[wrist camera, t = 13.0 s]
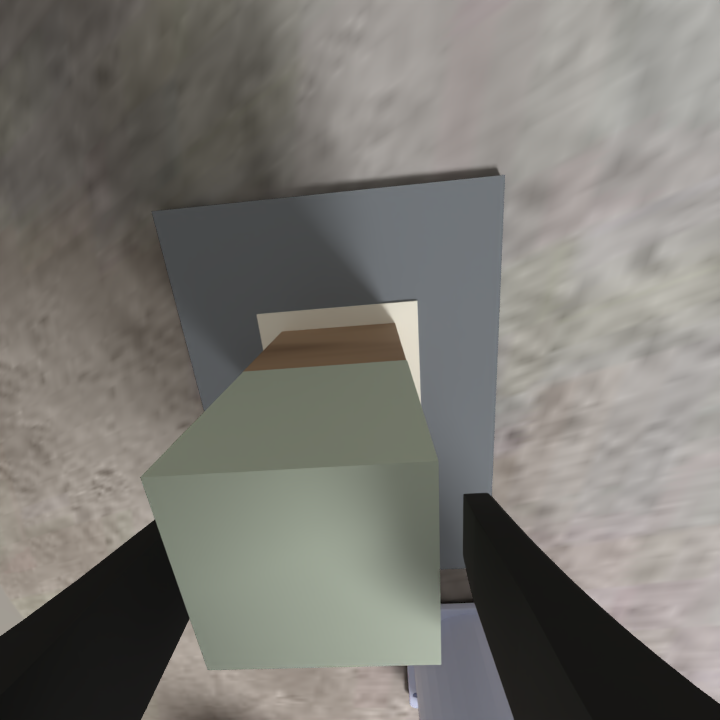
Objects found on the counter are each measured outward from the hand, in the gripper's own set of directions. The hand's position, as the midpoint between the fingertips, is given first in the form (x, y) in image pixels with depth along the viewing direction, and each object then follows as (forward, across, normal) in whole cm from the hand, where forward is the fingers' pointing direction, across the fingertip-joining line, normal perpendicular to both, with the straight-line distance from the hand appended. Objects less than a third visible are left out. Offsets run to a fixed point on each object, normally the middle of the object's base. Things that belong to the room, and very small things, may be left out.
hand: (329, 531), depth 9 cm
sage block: (+3, 0, -1) cm, 3 cm away
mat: (+8, 0, +1) cm, 8 cm away
